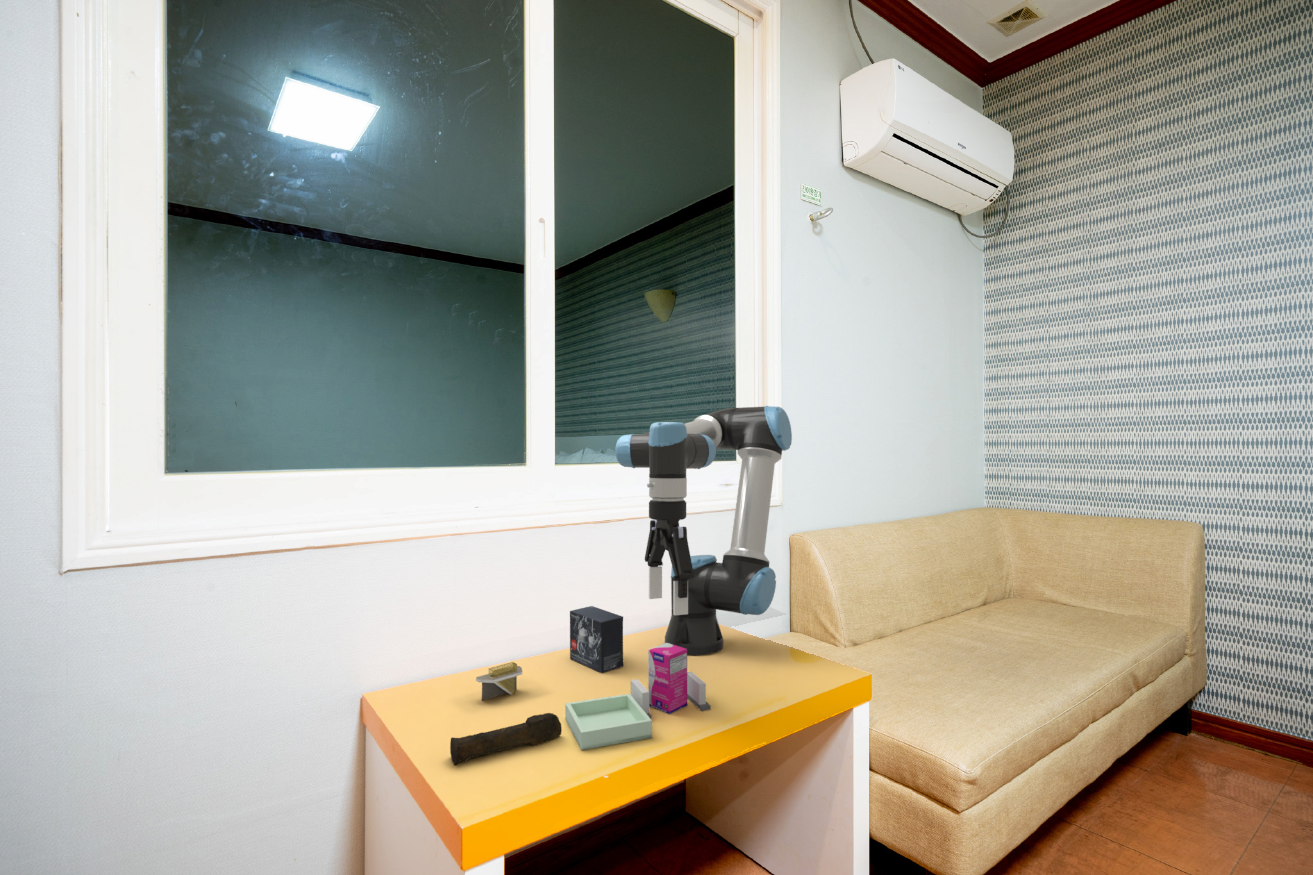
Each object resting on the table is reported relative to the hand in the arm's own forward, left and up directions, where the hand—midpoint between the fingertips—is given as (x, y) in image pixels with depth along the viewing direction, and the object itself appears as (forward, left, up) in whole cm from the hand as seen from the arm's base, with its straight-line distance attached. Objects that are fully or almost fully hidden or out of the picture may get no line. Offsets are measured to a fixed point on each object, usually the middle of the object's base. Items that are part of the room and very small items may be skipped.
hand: (667, 606), depth 122 cm
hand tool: (+32, +6, -20) cm, 38 cm away
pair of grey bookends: (0, 0, -20) cm, 20 cm away
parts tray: (+14, +5, -20) cm, 25 cm away
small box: (+7, -29, -20) cm, 36 cm away
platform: (+30, -17, -21) cm, 40 cm away
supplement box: (0, 0, -20) cm, 20 cm away
